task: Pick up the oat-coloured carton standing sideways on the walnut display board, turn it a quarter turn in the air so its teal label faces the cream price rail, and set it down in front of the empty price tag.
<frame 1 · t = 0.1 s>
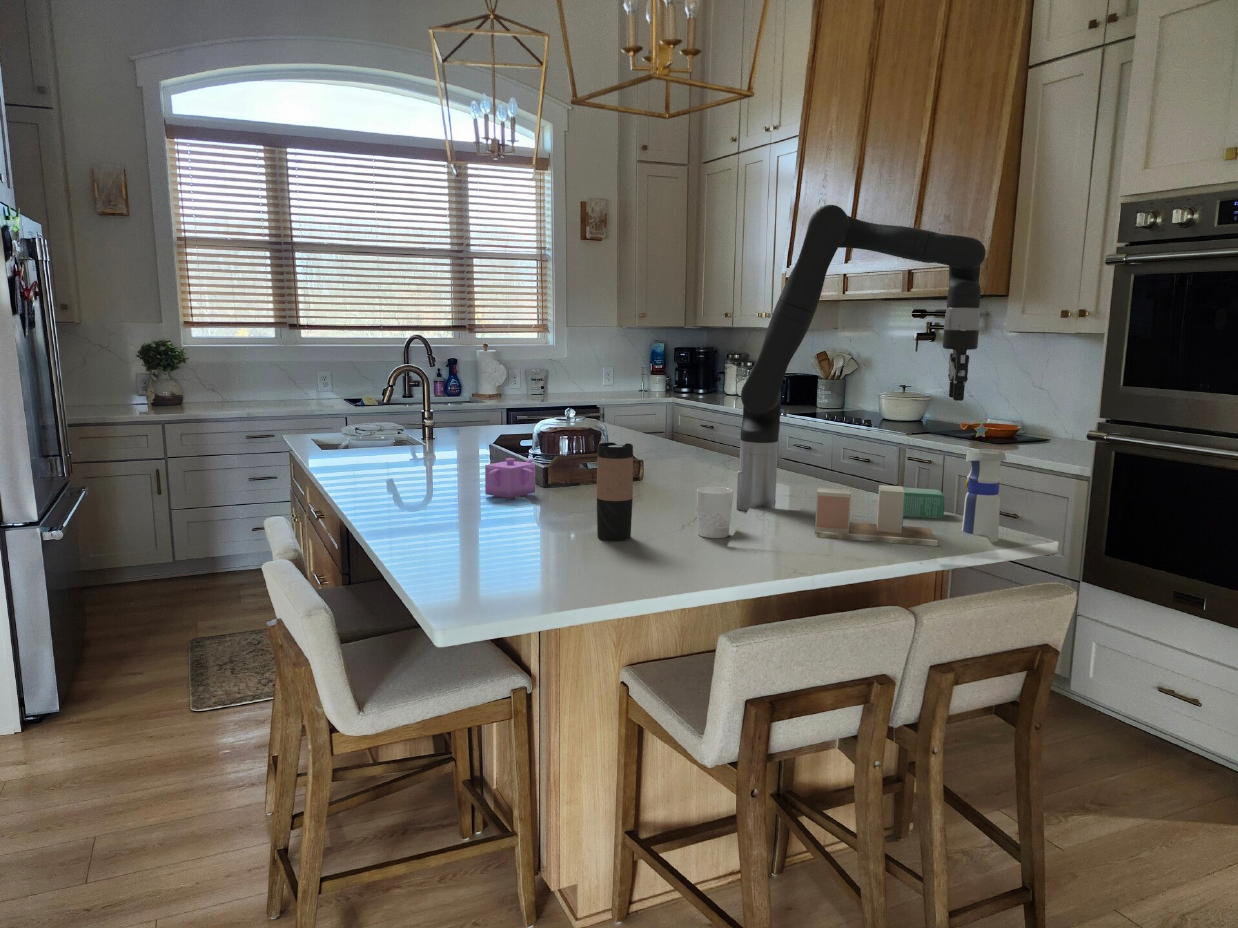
hand: (955, 399, 201), 29 cm above the countertop, fingers open, 8 cm apart
box: (911, 520, 208), on the countertop
faced carton: (832, 531, 187), point 1 cm above the countertop, touching display board
white cup: (713, 535, 189), on the countertop
teapot: (513, 497, 229), on the countertop
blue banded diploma: (978, 538, 190), on the countertop
travel mug: (614, 538, 186), on the countertop
display board: (874, 538, 188), on the countertop
carton: (888, 528, 191), point 1 cm above the countertop, touching display board
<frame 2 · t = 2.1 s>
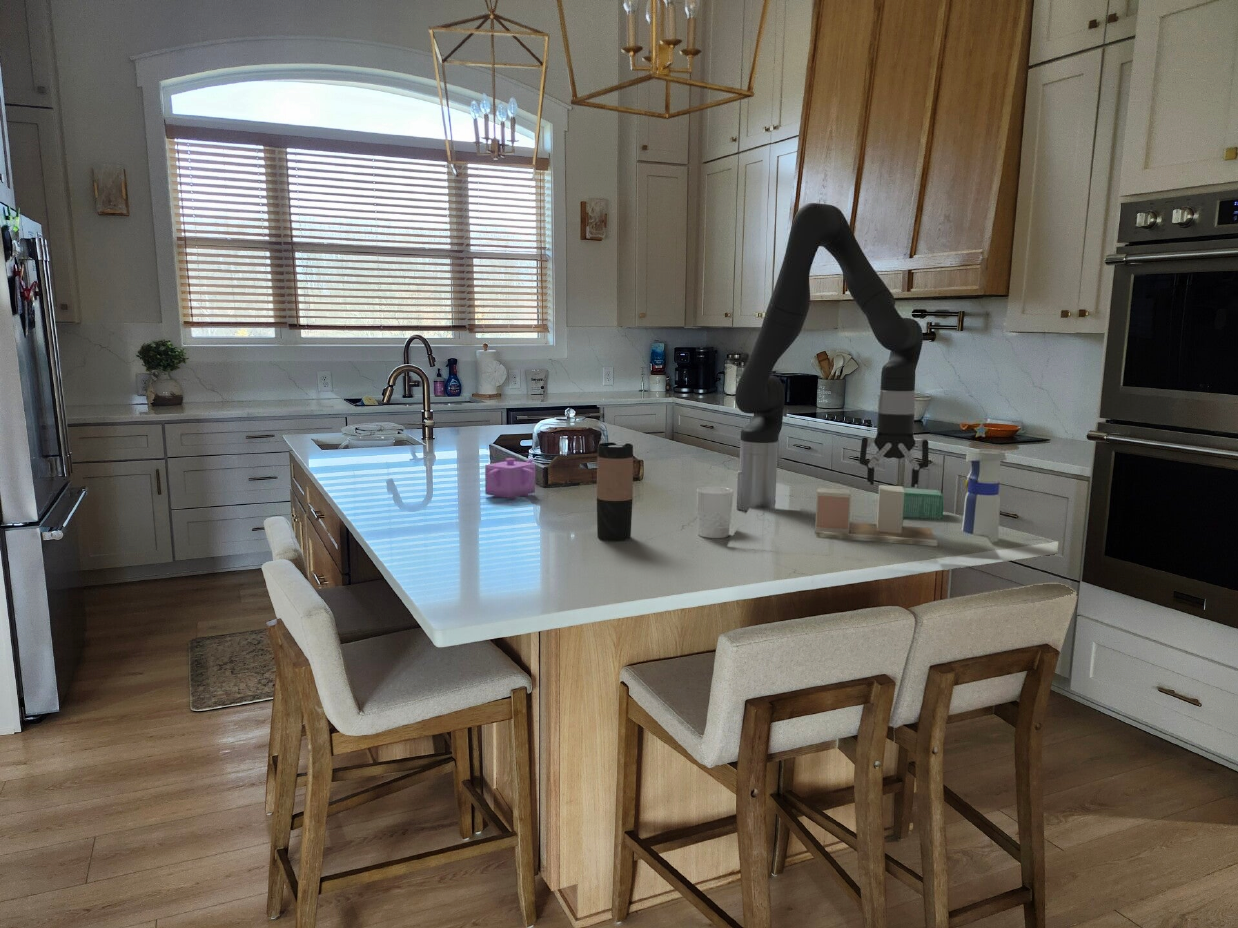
hand: (892, 485, 189), 11 cm above the countertop, fingers open, 8 cm apart
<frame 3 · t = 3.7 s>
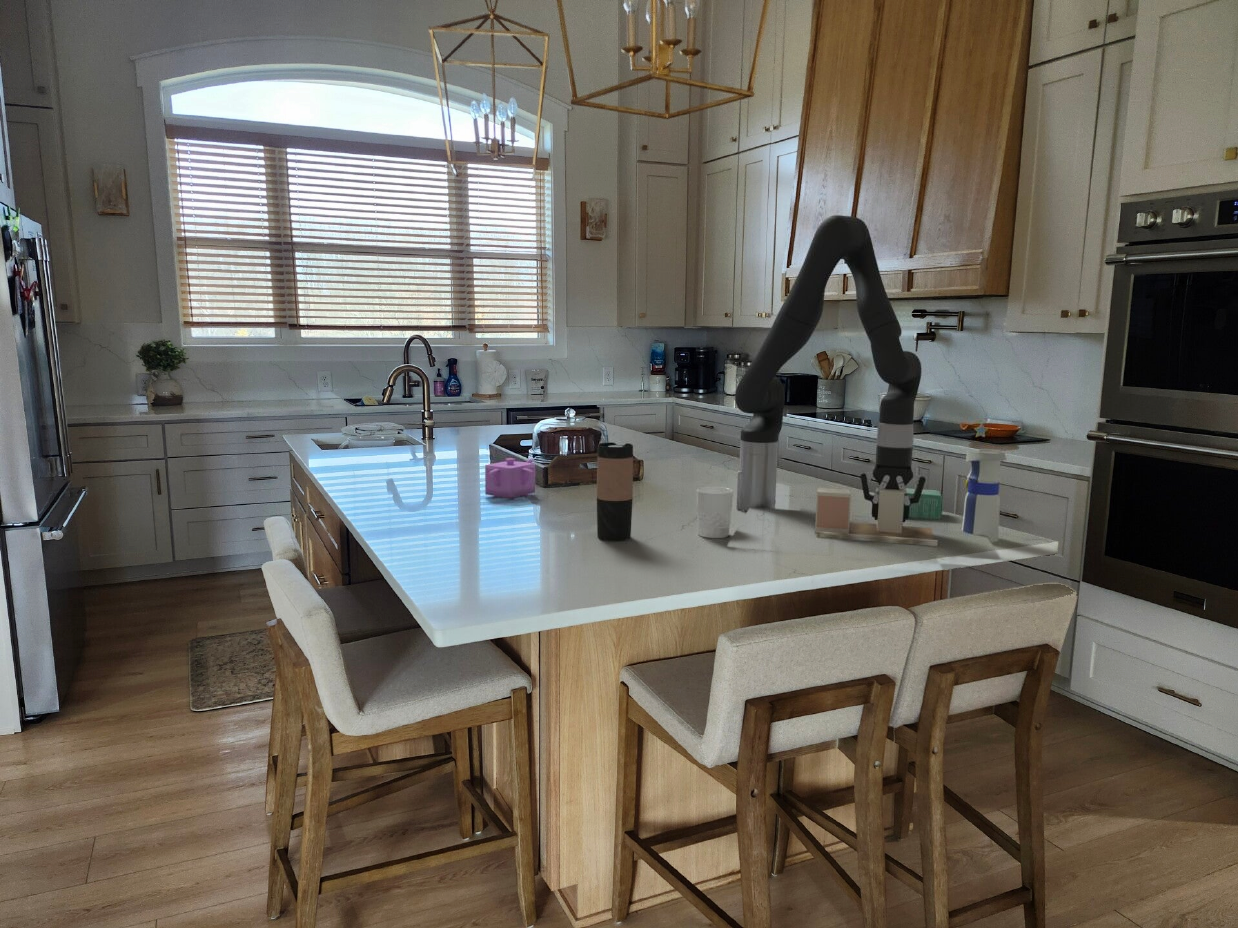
hand: (889, 520, 191), 3 cm above the countertop, fingers closed on carton, 5 cm apart
carton: (888, 528, 191), point 2 cm above the countertop, touching display board, gripper
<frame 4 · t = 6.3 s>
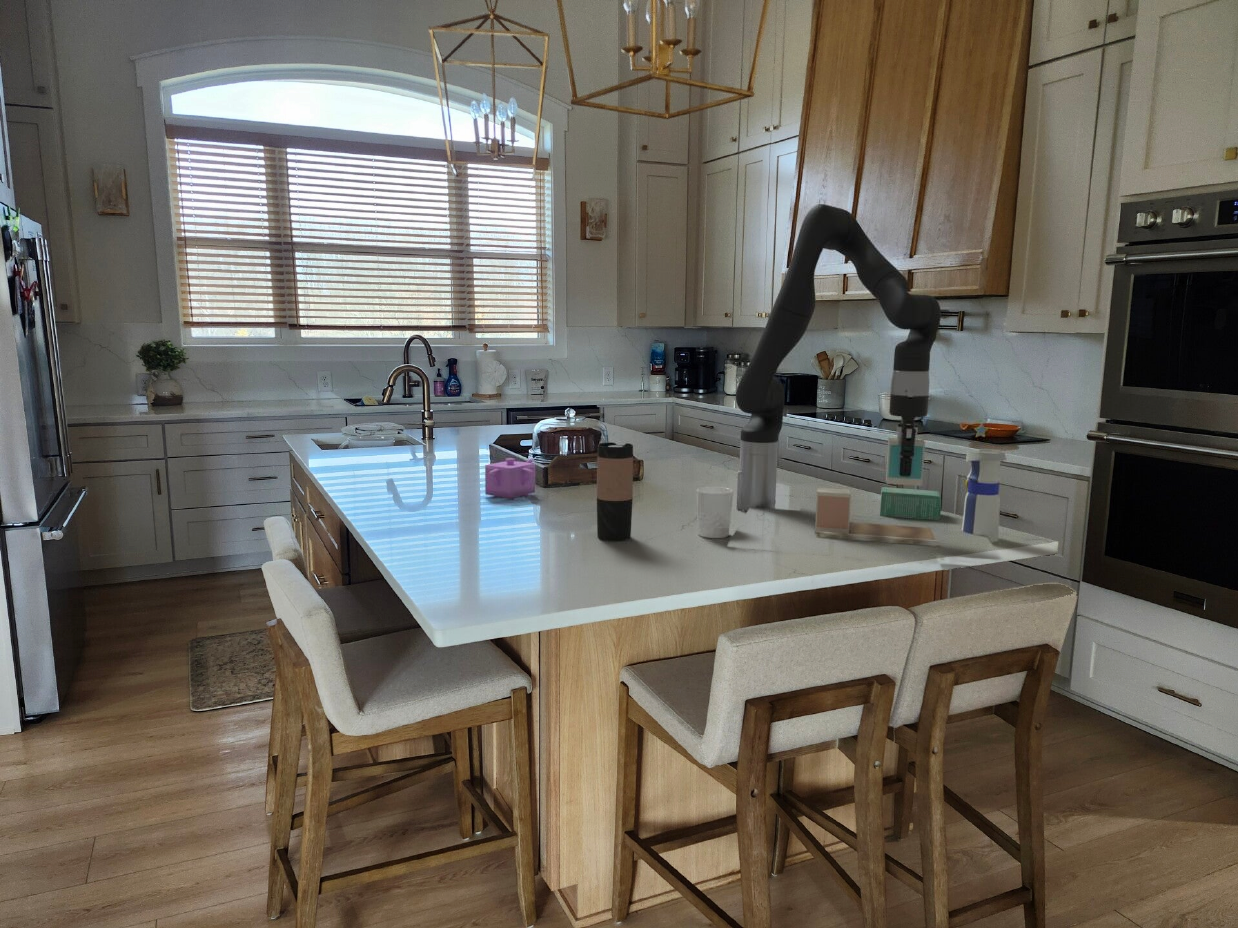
hand: (904, 473, 182), 15 cm above the countertop, fingers closed on carton, 5 cm apart
carton: (903, 482, 182), point 13 cm above the countertop, touching gripper
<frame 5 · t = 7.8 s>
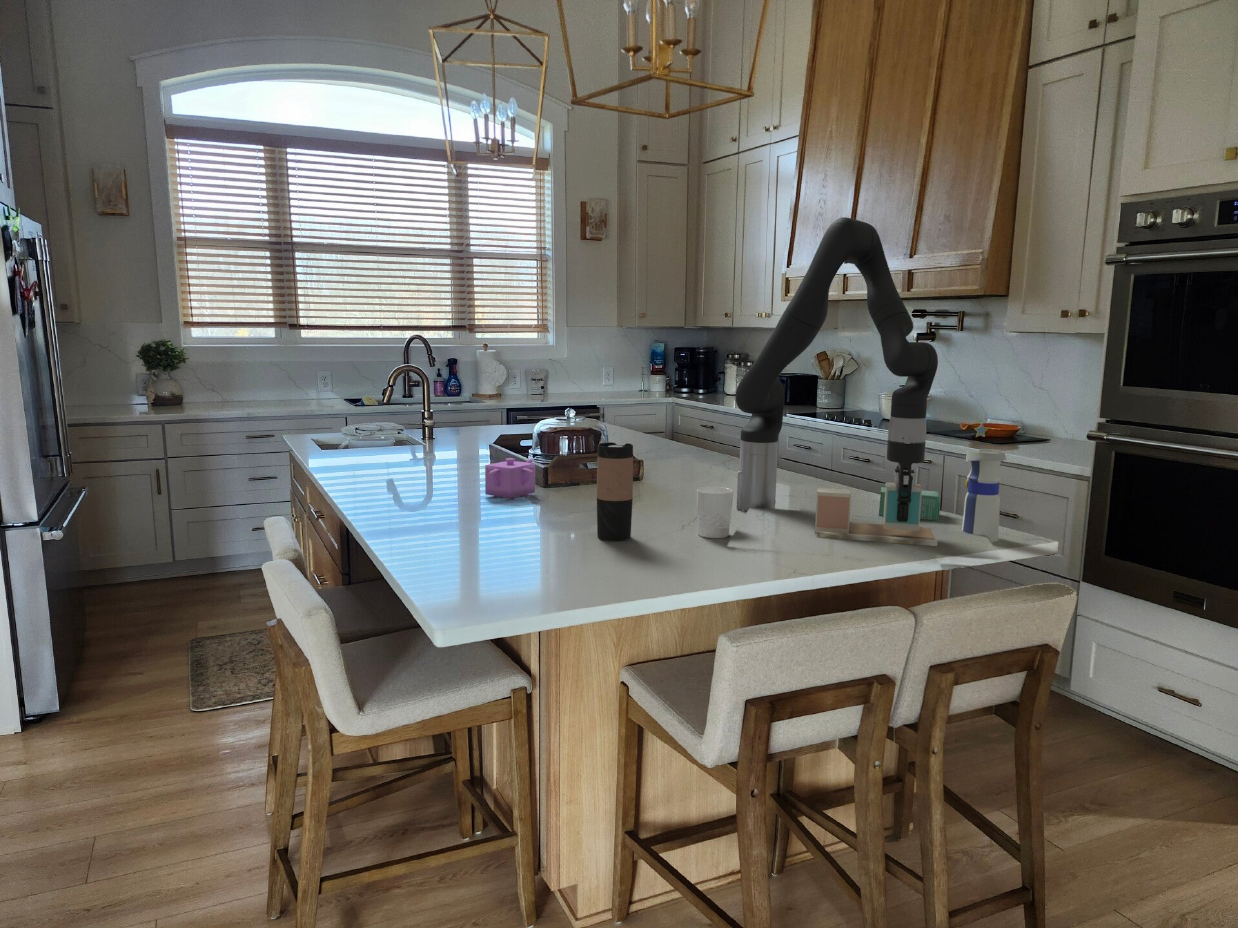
hand: (901, 518, 183), 6 cm above the countertop, fingers closed on carton, 5 cm apart
carton: (900, 527, 184), point 4 cm above the countertop, touching gripper
when the fingers open (5 cm above the countertop, at t = 8.8 s): carton drops 1 cm, resting on display board.
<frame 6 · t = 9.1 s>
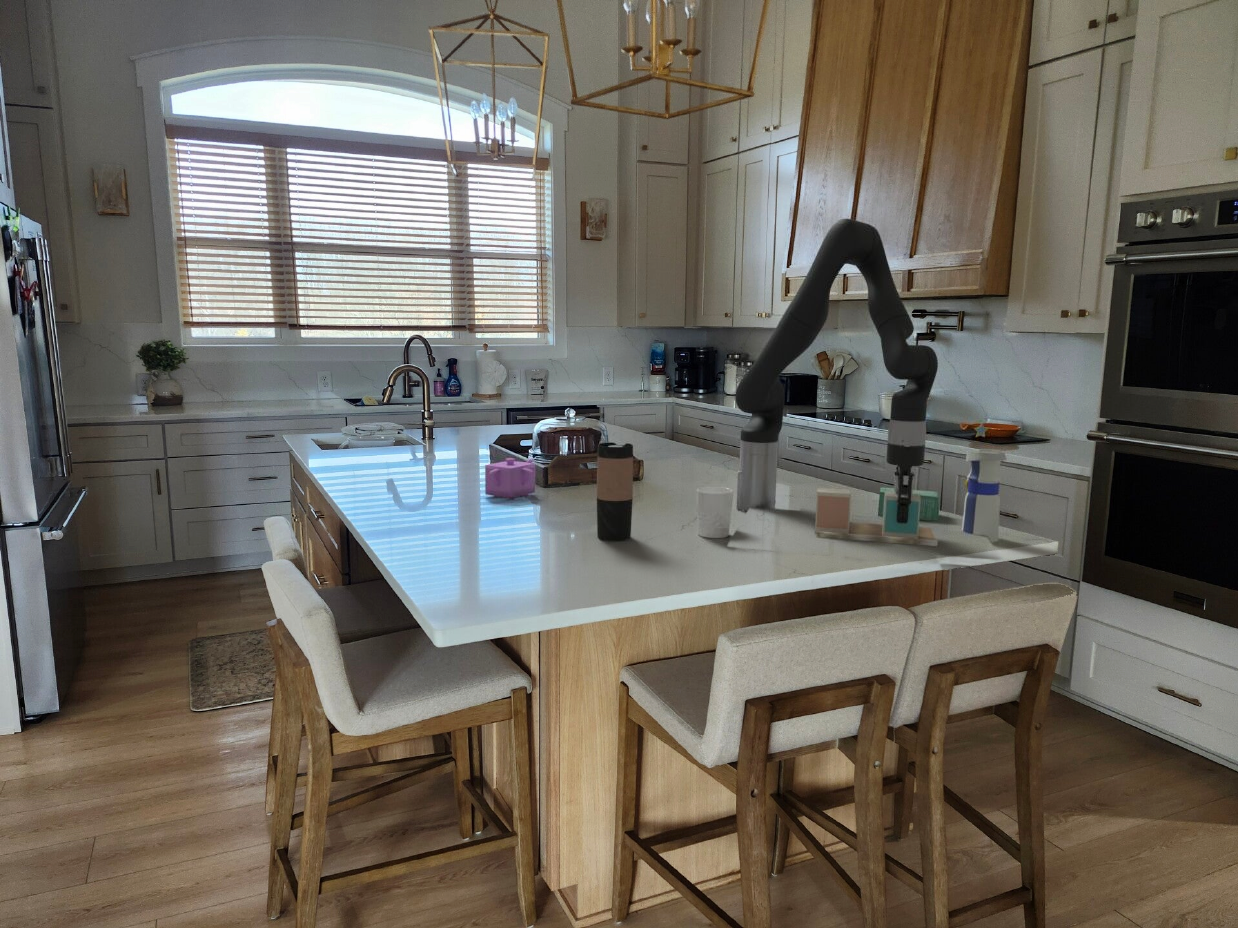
hand: (901, 518, 183), 5 cm above the countertop, fingers open, 7 cm apart
carton: (899, 536, 184), point 1 cm above the countertop, touching display board
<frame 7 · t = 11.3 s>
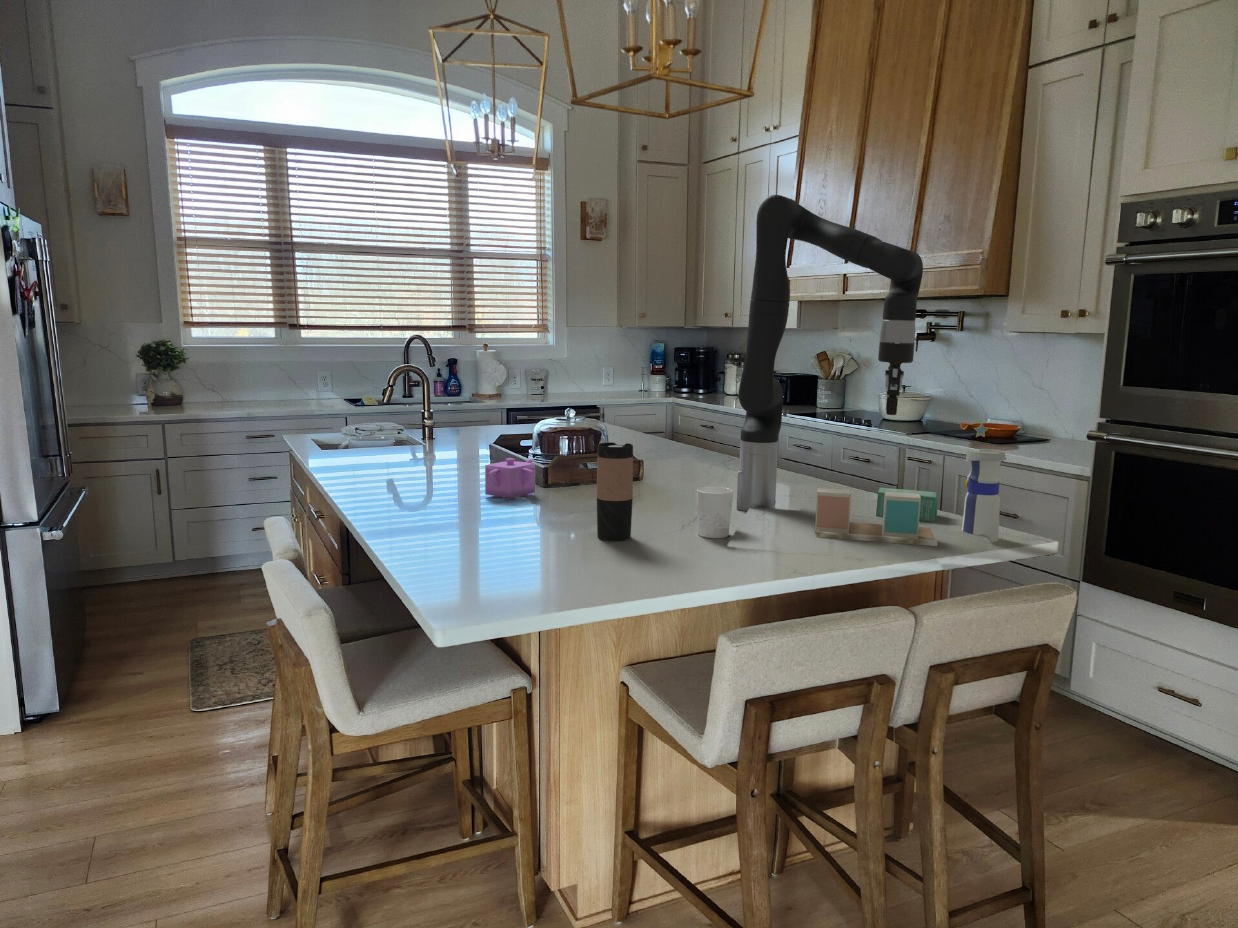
hand: (891, 413, 197), 26 cm above the countertop, fingers open, 8 cm apart
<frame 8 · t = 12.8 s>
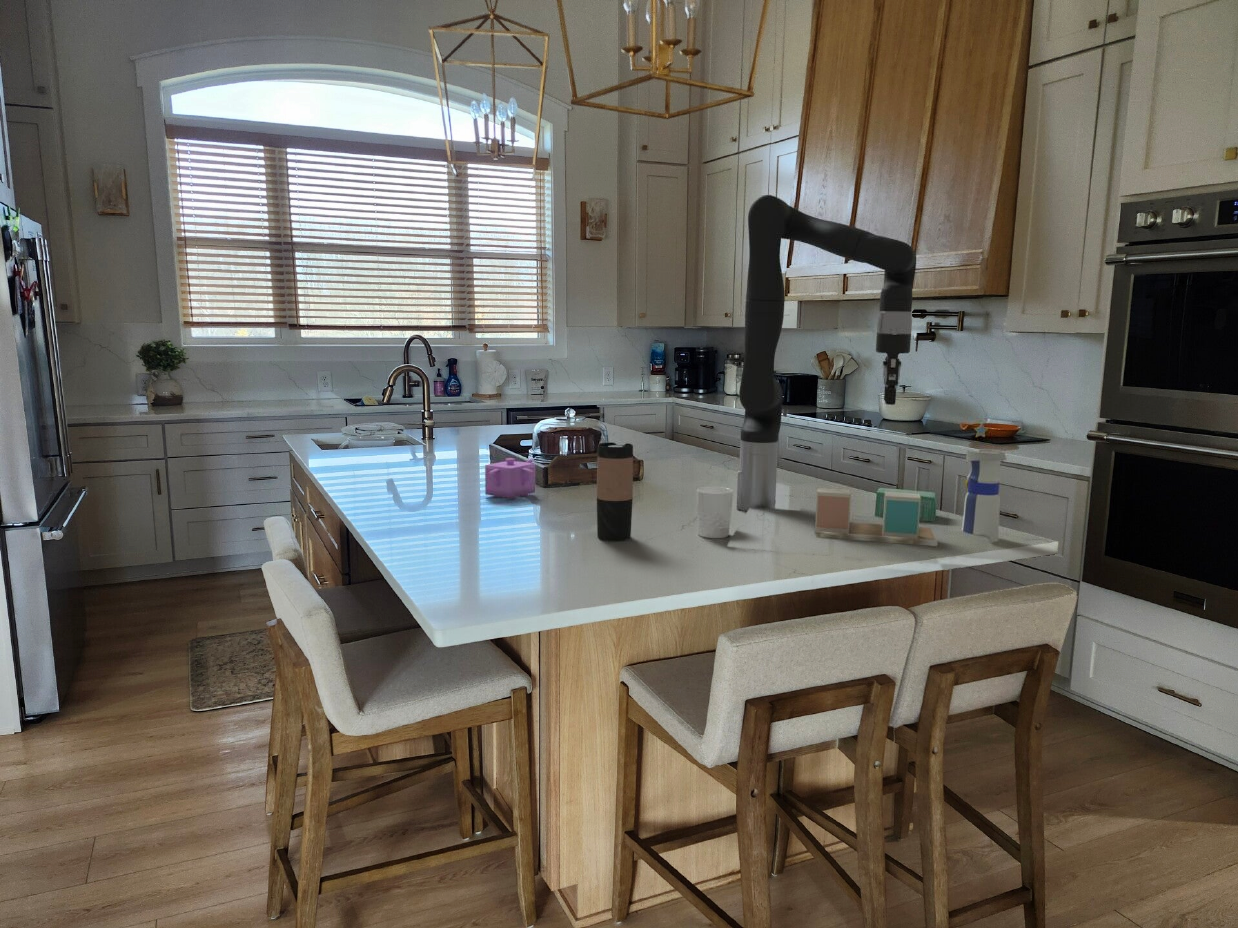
hand: (889, 402, 200), 28 cm above the countertop, fingers open, 8 cm apart
at the end: carton inside the target area (0.1 cm from its centre), point 1.5 cm above the countertop; carton tilted 0°; the gripper is holding nothing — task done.
